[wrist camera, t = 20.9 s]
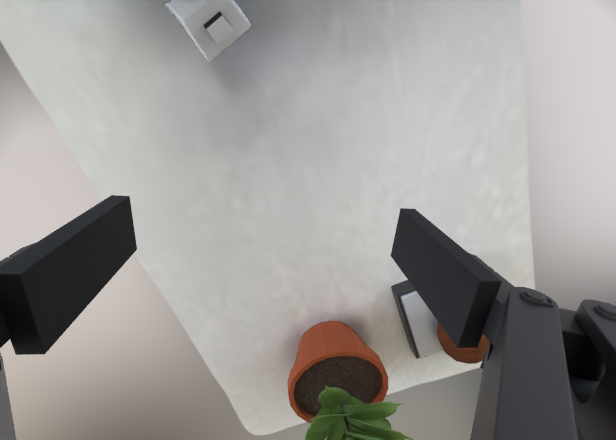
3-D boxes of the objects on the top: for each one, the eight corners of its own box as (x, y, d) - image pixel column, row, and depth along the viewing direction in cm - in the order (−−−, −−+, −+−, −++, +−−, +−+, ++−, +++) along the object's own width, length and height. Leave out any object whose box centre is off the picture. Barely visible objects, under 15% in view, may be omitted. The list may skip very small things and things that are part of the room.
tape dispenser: (193, 35, 36) (220, 80, 31) (144, -23, 30) (169, 22, 25) (232, 0, 35) (267, 41, 30) (190, -66, 29) (225, -28, 24)
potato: (430, 348, 51) (457, 391, 43) (421, 292, 46) (449, 329, 39) (475, 335, 51) (509, 375, 43) (470, 278, 46) (507, 312, 39)
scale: (390, 286, 49) (398, 297, 46) (474, 254, 48) (486, 264, 46) (410, 348, 54) (418, 361, 51) (486, 320, 54) (498, 332, 51)
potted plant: (388, 347, 54) (513, 614, 26) (316, 390, 55) (360, 681, 28) (345, 290, 48) (442, 547, 20) (266, 339, 50) (258, 635, 22)
